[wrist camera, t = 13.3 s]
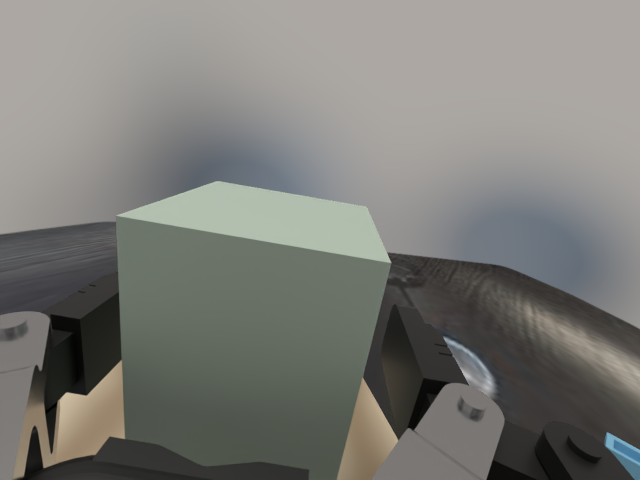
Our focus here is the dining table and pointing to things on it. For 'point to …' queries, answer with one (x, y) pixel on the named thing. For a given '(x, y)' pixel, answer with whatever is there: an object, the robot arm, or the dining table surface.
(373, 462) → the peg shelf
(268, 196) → the sage post
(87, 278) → the dining table surface
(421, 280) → the dining table surface
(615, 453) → the teapot
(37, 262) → the dining table surface
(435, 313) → the dining table surface
